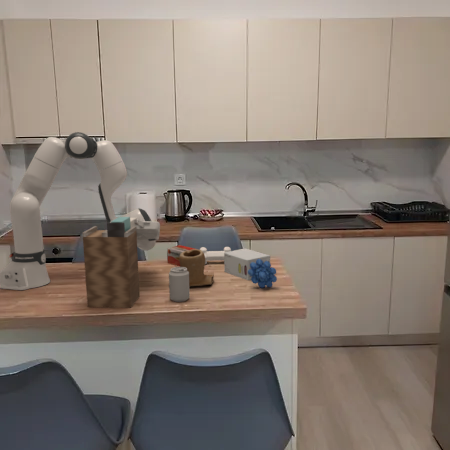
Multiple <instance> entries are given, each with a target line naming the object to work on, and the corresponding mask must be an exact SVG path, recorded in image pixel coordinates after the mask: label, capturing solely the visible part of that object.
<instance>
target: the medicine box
mask: <svg viewBox="0 0 450 450" xmlns="http://www.w3.org/2000/svg"><path fill="white" fill-rule="evenodd" d="M166 249H167V251H166V255H167V256H166V257H167V264H169V265H174V266H175V267H180V262H179V256H180V254H181V253H182V252H184V251H189V250H192V249H196V248H194V247H191V246H190V247H189V246H185V245H181V244H179V245H174V246H170V247H167V248H166Z"/></svg>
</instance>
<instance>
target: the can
mask: <svg viewBox="0 0 450 450" xmlns="http://www.w3.org/2000/svg"><path fill="white" fill-rule="evenodd" d="M168 286H169V287H168V288H169V290H168V291H169V299H170V300H171V301H172V302H176V303H182V302H183V303H184V302H187V300H188V299H190V297H191V296H190V286H189V272H188V271H187V268H185V267H179V266H175V267H171V268H170V269H169V273H168Z"/></svg>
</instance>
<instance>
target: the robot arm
mask: <svg viewBox="0 0 450 450" xmlns="http://www.w3.org/2000/svg"><path fill="white" fill-rule="evenodd" d="M68 158H72V159H75V160H79V161H81V160H85V159H90V160H92V162H93V163H94V164H95V166H96V168H97V170H98V172H99V176H100V183H99V184H98V185H97V186H98V189H97V190H98V195H99V198H100V203H101V207H102V209H103V214H104V216H105V221H106V224H107V223H111V221H113V220H115V219H117V218H119V217H130V218H137V219H135V220H134V221H135V222H134V224H135V226H136V232H137V249H138V248H139V250H141V251H151V250H153V248H155V245H156V243H157V241H158V240H160V239H159V238H160V230H161V223H160V222H159V221H156V220H155V221H152V219H151V217H150V215H149V214H148V213H147V211H146V210H144V209H142V208H140V207H138V208H136V209H134V210H131V211H129V212H128V213H125V214H122V215H120V216H116V214H115V210H114V207H113V203H112V196H113V194H114V192H115V191H117V189H118V188H120V186H121V185H123V183H124V182H125V180H126V178H127V176H128V171H127V168H126V165H125V162H124V161H123V158H122V156H121V155H120V153H119V151H118V149H117V148H116V146H115V144H113V142H112V141H110V140H106V139H105V140H103V139H102V140H99V141H96V140H94V139H93V138H92V137H90V136H89V135H88V134H87V133H84V132H78V131H77V132H76V131H75V132H73V133H70V134H69V135H68V136H67V138H66V139H61V138H58V137H55V136H49V137H46V139H45V140H43V142H42V143H41V144H40V145H39V147H38V149H37V150H36V152H35V154H34V156H33V158H32V160H31V161H30V163H29V165H28V167H27V168H26V171H25V173H24V175H23V176H22V179H21V181H20V183H19V185H18V187H17V188H16V191H15V192H14V195H13V196H12V198H11V200H10V202H9V215H10V221H11V229H12V234H13V244H14V251H13V252H12V253H10V254H9V259H10V258H11V260H10V261H9V263H7V264H6V265H5V266H4V267H2V268H1V269H0V289H2V290H3V289H4V290H12V291H13V290H15V291H25V290H28V289H34V288H39V287H42V286H45V285H47V284H49V283H51V279H50V276H49V273H48V269H47V265H46V261H47V259H46V250H45V249H44V241H43V228H42V219H41V209H40V208H41V205H42V203H43V201H44V200H45V197H46V196H47V194H48V192H49V191H50V189H51V187H52V185H53V183H54V181H55V179H56V177H57V175H58V173H59V172H60V169H61V168H62V166H63V163H64V162H65V160H66V159H68ZM133 227H134V226H133Z"/></svg>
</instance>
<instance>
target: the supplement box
mask: <svg viewBox="0 0 450 450" xmlns="http://www.w3.org/2000/svg"><path fill="white" fill-rule="evenodd" d="M258 259H261V260H262V261H263V263H264V262H265V261H268V262H270V263H271V255H270V254H267V253H266V254H265V253H262V252H259V251H256V250H253V249H249V248H246V247H245V248H241V249H235V250H231V251H229V252H225V253H224V260H223V262H224V263H223V265H224V267H223V268H224V273H225V274H226V273H227V274H229V275H232V276H234V277H237V278H239V279H242V280H246V281H251V277H252V276H250V275H249V274H248V270H249V269H251V268H250V263H252V262H254V263H256V260H258Z"/></svg>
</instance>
